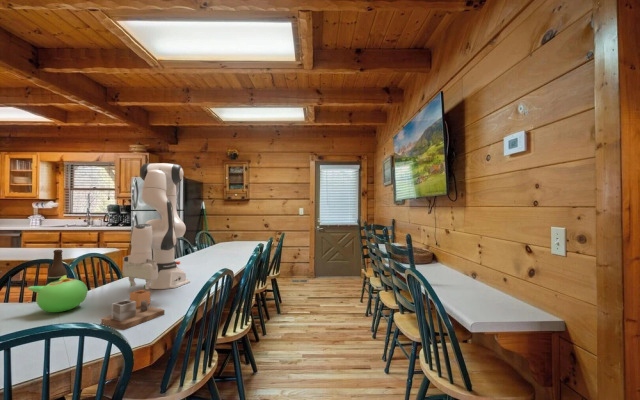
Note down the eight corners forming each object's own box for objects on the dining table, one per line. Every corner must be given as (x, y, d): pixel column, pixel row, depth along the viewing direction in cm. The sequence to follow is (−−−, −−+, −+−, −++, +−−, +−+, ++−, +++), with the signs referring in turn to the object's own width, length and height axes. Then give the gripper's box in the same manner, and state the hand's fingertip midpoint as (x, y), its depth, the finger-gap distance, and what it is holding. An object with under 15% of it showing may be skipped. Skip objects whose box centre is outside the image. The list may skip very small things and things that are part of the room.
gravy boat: (56, 319, 128) (57, 283, 128) (24, 315, 132) (24, 281, 132) (95, 305, 146) (96, 274, 146) (66, 302, 149) (67, 272, 149)
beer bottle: (44, 300, 152) (45, 251, 153) (50, 295, 159) (51, 249, 160) (63, 298, 155) (64, 250, 156) (69, 294, 163) (70, 248, 163)
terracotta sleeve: (141, 302, 152) (141, 289, 152) (150, 303, 149) (150, 291, 149) (129, 305, 146) (130, 293, 146) (138, 307, 144) (138, 294, 144)
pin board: (142, 309, 141) (142, 292, 141) (164, 314, 136) (164, 296, 136) (101, 323, 125) (101, 303, 125) (124, 329, 119) (124, 308, 119)
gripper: (162, 259, 146) (161, 288, 146) (133, 256, 154) (131, 284, 154) (150, 261, 140) (148, 291, 140) (120, 257, 149) (119, 286, 148)
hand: (139, 287), depth 147 cm, fingers open, 8 cm apart
